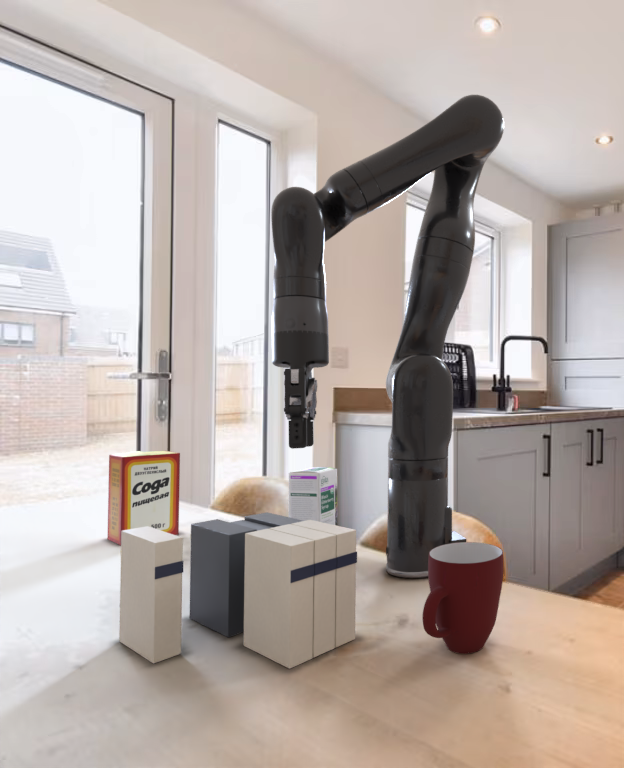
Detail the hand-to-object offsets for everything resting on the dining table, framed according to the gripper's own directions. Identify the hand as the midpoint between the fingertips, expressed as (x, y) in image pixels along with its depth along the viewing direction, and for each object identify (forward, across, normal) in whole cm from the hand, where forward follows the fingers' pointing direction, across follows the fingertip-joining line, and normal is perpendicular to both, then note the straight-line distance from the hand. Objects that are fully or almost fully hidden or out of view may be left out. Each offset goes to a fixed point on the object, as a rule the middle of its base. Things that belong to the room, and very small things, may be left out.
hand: (302, 447), depth 75 cm
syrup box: (+19, +17, 0) cm, 25 cm away
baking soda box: (+16, +37, +32) cm, 52 cm away
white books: (+21, -16, -1) cm, 26 cm away
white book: (+20, -14, +14) cm, 28 cm away
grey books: (+20, -7, +6) cm, 22 cm away
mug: (+22, -22, -18) cm, 36 cm away
